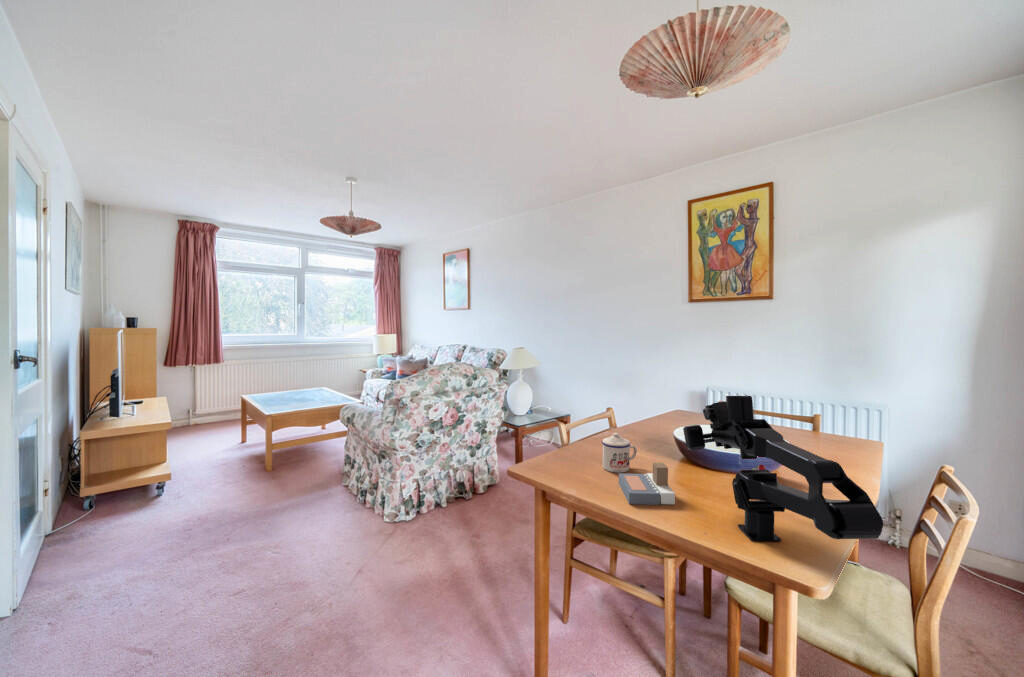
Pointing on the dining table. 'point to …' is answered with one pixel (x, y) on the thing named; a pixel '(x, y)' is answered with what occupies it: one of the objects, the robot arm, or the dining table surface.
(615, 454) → the teacup with lid
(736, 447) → the robot arm
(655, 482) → the stub
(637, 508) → the dining table surface
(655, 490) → the grey flat block
